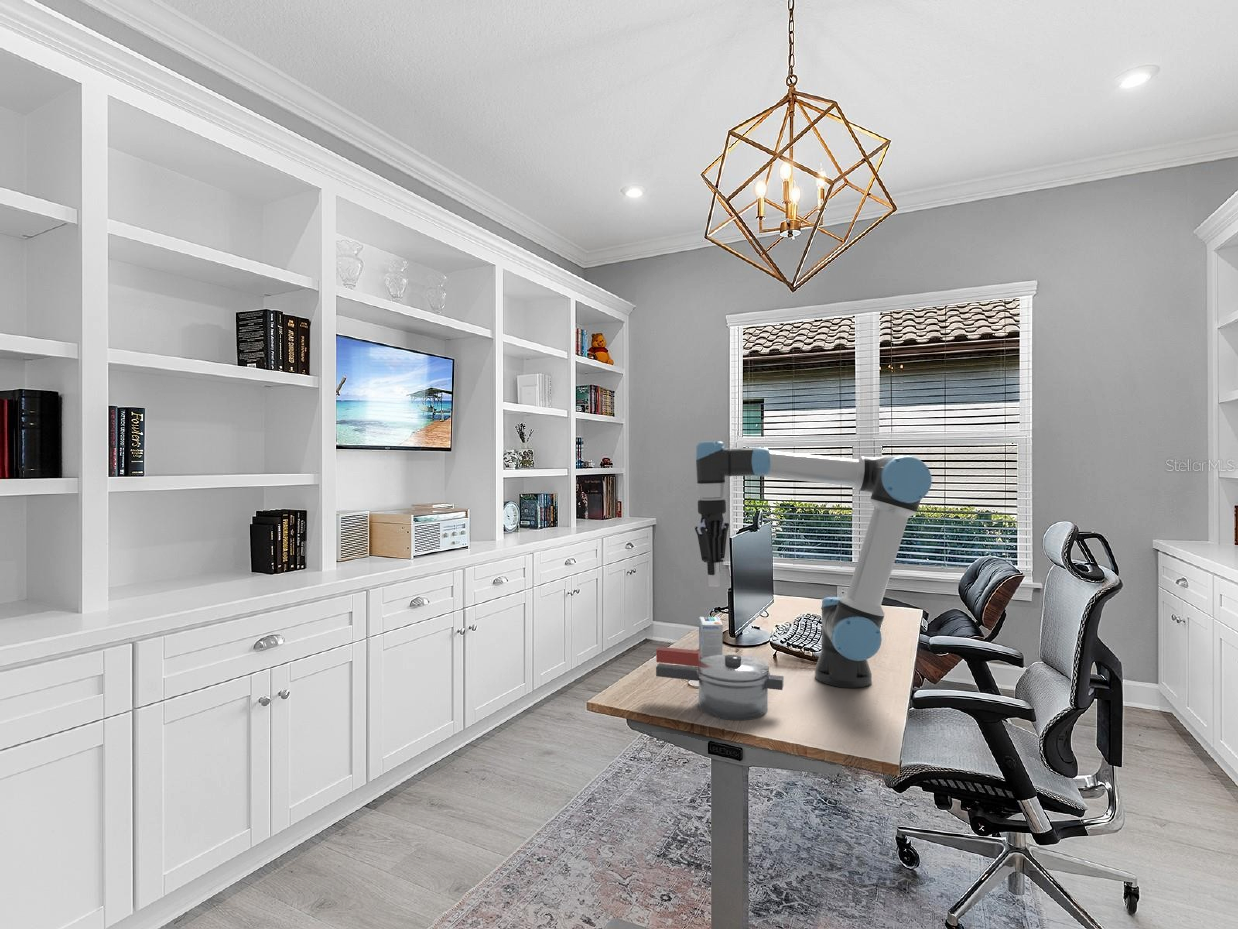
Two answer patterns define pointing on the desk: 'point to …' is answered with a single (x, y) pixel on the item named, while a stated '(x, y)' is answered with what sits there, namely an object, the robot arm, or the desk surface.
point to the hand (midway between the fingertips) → (714, 586)
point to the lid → (716, 664)
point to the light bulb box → (710, 636)
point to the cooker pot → (726, 692)
